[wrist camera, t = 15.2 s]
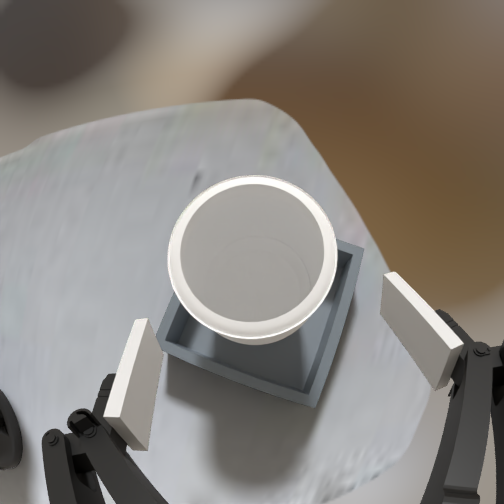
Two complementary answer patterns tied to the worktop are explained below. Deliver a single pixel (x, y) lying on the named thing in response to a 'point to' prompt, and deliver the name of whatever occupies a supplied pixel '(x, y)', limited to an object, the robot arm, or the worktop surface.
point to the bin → (273, 354)
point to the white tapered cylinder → (252, 258)
